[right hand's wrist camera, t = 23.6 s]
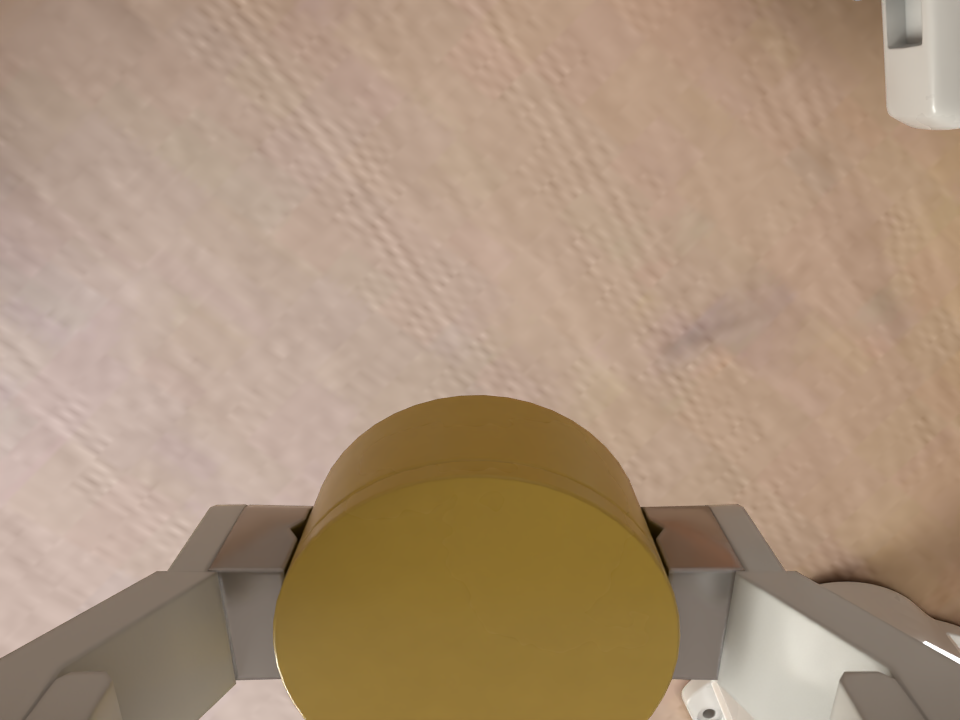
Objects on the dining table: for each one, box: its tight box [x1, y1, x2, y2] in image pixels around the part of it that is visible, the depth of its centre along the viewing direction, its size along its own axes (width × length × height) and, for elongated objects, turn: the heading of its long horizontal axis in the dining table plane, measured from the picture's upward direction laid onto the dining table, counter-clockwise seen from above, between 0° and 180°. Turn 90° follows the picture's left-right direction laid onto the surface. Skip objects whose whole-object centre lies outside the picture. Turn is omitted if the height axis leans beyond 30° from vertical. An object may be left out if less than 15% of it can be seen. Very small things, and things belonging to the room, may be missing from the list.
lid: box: [273, 395, 680, 720], centre depth 9 cm, size 5×5×2 cm
